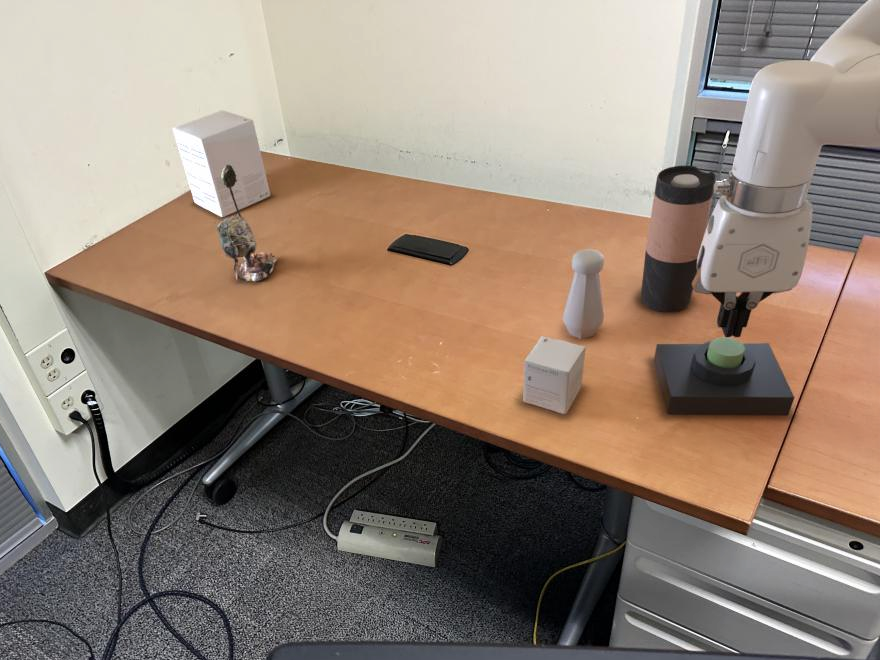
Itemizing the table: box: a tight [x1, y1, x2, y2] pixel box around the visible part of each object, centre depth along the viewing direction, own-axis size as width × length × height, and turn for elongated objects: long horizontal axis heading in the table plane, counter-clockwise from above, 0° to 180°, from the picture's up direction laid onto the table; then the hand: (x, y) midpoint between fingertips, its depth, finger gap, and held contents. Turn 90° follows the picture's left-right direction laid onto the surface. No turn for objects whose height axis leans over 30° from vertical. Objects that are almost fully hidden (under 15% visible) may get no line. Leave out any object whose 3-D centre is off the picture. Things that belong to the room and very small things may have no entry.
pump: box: [707, 336, 745, 368], centre depth 86 cm, size 4×4×2 cm
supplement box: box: [172, 110, 271, 218], centre depth 152 cm, size 13×13×18 cm
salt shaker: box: [562, 248, 605, 340], centre depth 99 cm, size 6×6×13 cm
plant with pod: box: [214, 165, 279, 282], centre depth 123 cm, size 8×11×20 cm
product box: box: [522, 335, 587, 415], centre depth 90 cm, size 6×6×7 cm
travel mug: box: [640, 165, 717, 313], centre depth 100 cm, size 8×8×20 cm
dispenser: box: [653, 340, 796, 417], centre depth 88 cm, size 14×11×5 cm
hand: (729, 330), depth 84 cm, fingers closed
